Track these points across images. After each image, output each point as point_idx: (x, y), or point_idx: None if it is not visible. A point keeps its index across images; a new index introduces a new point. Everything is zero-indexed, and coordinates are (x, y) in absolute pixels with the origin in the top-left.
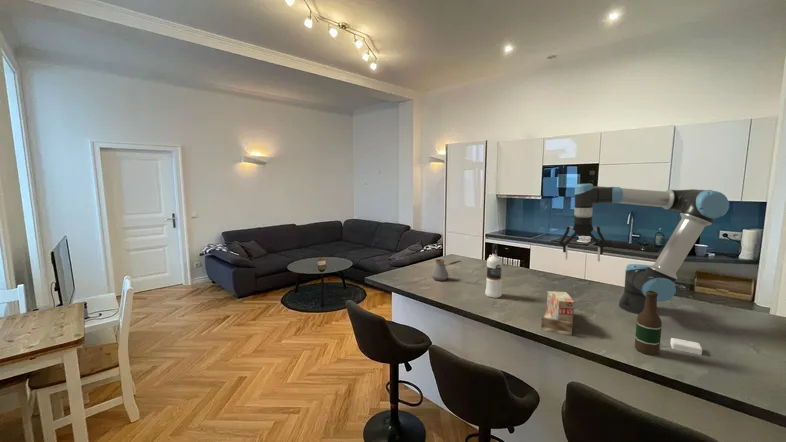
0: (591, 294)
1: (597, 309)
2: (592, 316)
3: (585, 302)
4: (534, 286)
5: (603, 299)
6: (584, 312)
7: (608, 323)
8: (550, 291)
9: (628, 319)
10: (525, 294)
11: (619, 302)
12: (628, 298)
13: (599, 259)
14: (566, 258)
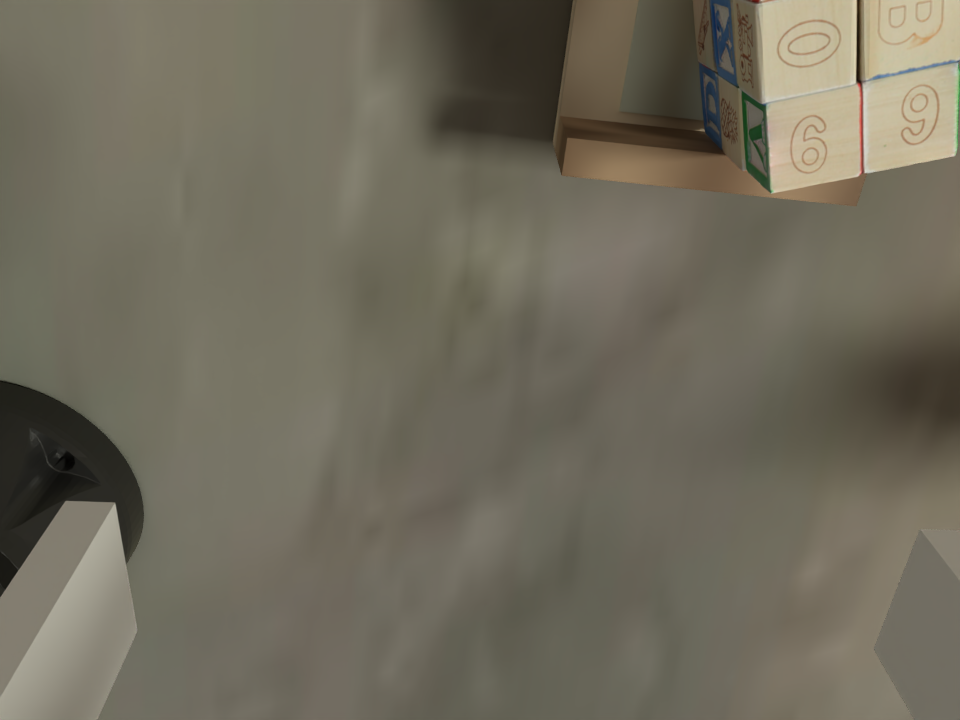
0: (350, 679)
1: (318, 358)
2: (372, 151)
3: (411, 491)
4: (807, 714)
5: (262, 604)
6: (440, 234)
7: (229, 7)
8: (909, 157)
9: (57, 204)
10: (941, 509)
11: (127, 517)
12: (22, 508)
13: (47, 539)
14: (956, 550)
